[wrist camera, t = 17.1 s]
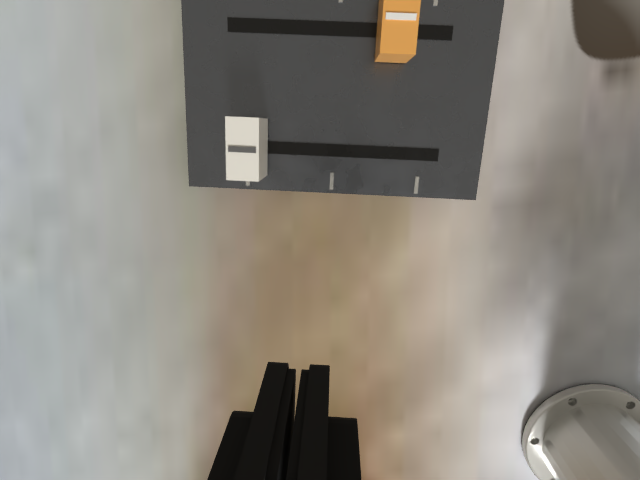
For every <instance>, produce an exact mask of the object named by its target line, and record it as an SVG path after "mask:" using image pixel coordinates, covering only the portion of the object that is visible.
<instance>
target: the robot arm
mask: <svg viewBox="0 0 640 480" xmlns="http://www.w3.org/2000/svg"><path fill="white" fill-rule="evenodd" d="M329 371H330V366H329V365H312V364H310V368H309V370H303V369H302V371H301V378H300V385H299V392H298V399H297V406H296V413H295V382H296V369H289V365H288V363H277V362H268V364H267V367H266V371H265V374H264V378H263V381H262V385H261V388H260V392H259V395H258V399H257V402H256V406H255V409H254V412H245V411H233V412H232V414H231V416H230V419H229V422H228V425H227V427H226V430H225V433H224V436H223V438H222V441H221V444H220V447H219V449H218V452H217V455H216V458H215V460H214V463H213V466H212V469H211V471H210V474H209V477H208V480H361V468H360V454H359V440H358V426H357V419H356V418H342V417H328V407H329ZM294 414H295V420H294ZM522 449H523V453H524V457H525V459H526V461H527V463H528V465H529V467H530V468H531V470H532V472H533V473H534V475H535V476H536V477H537V478H538V479H539V480H640V401H639V400H638V399H637V398H635V397H634V396H633V395H631V394H630V393H628V392H626V391H624V390H622V389H620V388H617V387H613V386H609V385H602V384H588V385H579V386H576V387H572V388H568V389H566V390H563V391H561V392H559V393H557V394H555V395H553V396H552V397H550V398H549V399H547V400H546V401H544V402H543V403H542V404H541V405H540V406H539V407H538V408H537V409H536V410H535V411H534V413H533V414H532V415H531V416H530V418H529V420H528V422H527V424H526V426H525V429H524V432H523V436H522Z"/></svg>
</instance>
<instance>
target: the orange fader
mask: <svg viewBox="0 0 640 480" xmlns="http://www.w3.org/2000/svg"><path fill="white" fill-rule="evenodd" d="M420 5H421V0H379V6H378V20H377V34H376V48H375V62H389V63H407V62H408V61H409V60H410V59H411V58H412V57H414V56H415V55H416V47H417V36H418V26H419V15H420Z"/></svg>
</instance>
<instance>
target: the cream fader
mask: <svg viewBox="0 0 640 480" xmlns="http://www.w3.org/2000/svg"><path fill="white" fill-rule="evenodd" d="M225 141H226V180H234V181H255V182H259V181H260V180H262V179H263V178H264V177H266V176H267V165H268V119H267V118H254V117H231V116H225Z"/></svg>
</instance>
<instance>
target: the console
mask: <svg viewBox="0 0 640 480" xmlns="http://www.w3.org/2000/svg"><path fill="white" fill-rule="evenodd" d="M181 3H182V27H183V51H184V75H185V99H186V123H187V147H188V171H189V186H197V187H218V188H239V189H259V190H280V191H301V192H322V193H342V194H363V195H384V196H405V197H426V198H446V199H467V200H476V194H477V187H478V180H479V173H480V166H481V159H482V152H483V145H484V138H485V131H486V124H487V117H488V110H489V103H490V96H491V89H492V82H493V75H494V68H495V61H496V54H497V47H498V41H499V34H500V27H501V20H502V13H503V6H504V0H421V5H420V15H419V26H418V36H417V47H416V55H415V56H414V57H412V58H411V59H410V60H409V61H408V62H407V63H389V62H375V48H376V34H377V20H378V6H379V0H181ZM225 116H231V117H254V118H267V119H268V165H267V176H266V177H264V178H263V179H262V180H260V181H259V182H255V181H234V180H226V141H225Z"/></svg>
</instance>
